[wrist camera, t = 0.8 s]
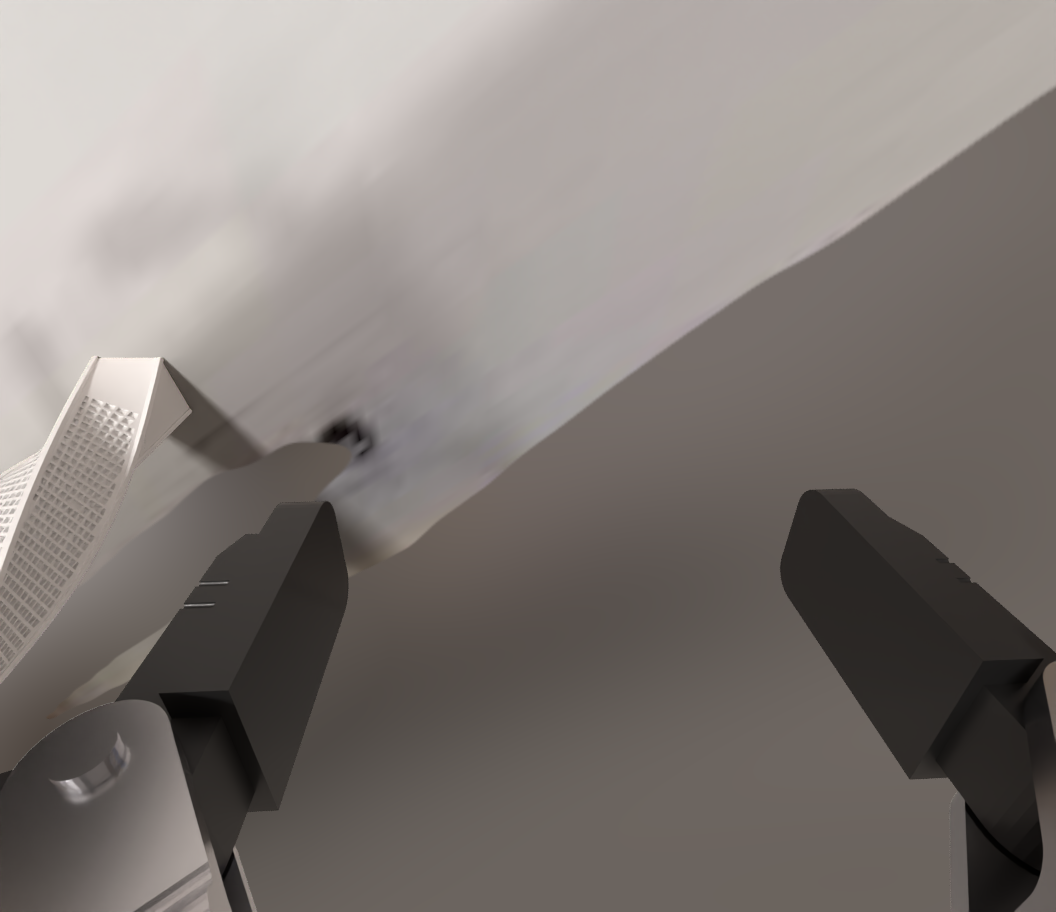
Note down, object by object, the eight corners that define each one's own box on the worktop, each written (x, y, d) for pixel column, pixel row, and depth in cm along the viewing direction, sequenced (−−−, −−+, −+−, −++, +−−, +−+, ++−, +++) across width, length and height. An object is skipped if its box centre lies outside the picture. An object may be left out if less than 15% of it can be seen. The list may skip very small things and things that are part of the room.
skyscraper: (65, 339, 39) (-386, 760, 20) (167, 339, 39) (-183, 759, 20) (123, 419, 45) (-184, 808, 25) (211, 419, 45) (-27, 807, 26)
